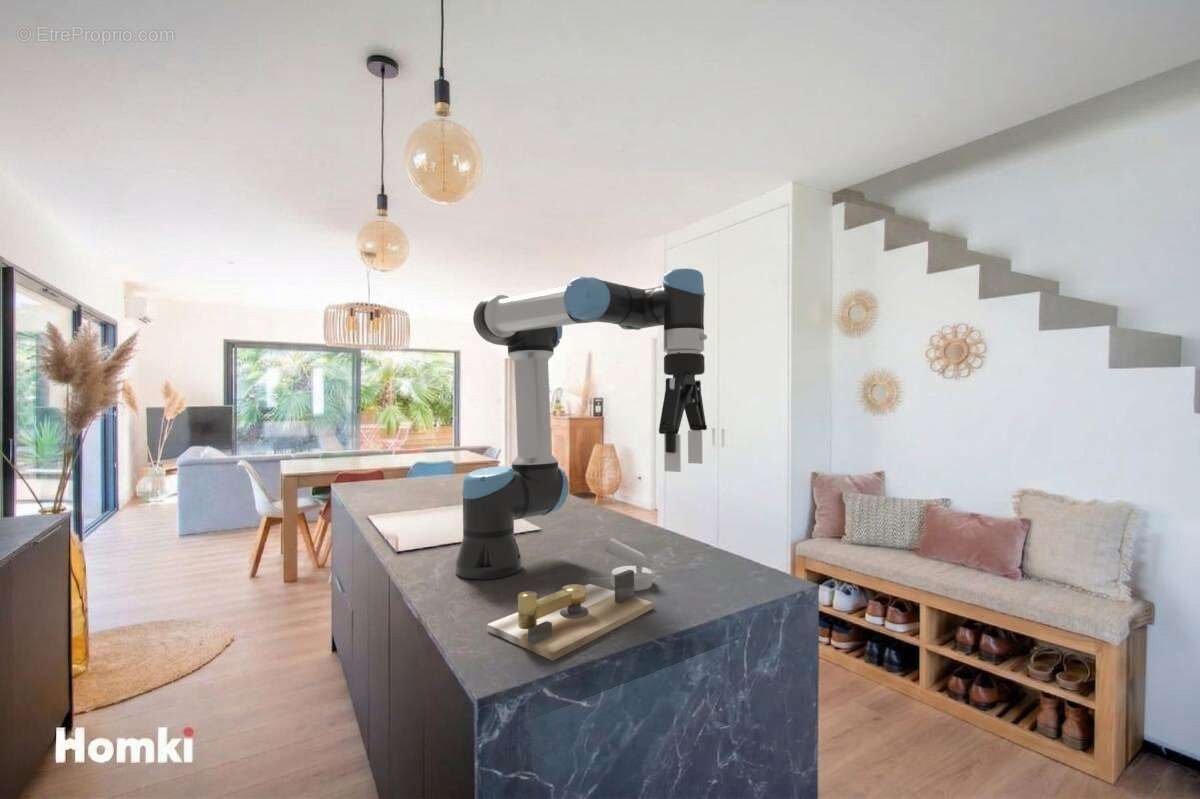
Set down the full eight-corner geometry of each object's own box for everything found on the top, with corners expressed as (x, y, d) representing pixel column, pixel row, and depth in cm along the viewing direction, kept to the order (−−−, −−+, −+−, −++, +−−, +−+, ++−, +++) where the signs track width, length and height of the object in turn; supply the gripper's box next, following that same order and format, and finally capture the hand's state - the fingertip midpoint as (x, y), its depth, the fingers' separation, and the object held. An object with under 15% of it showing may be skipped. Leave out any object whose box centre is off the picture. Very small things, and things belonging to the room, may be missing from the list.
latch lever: (573, 598, 97) (573, 571, 97) (591, 604, 94) (591, 576, 94) (511, 624, 86) (511, 593, 86) (529, 632, 83) (529, 600, 83)
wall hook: (608, 533, 118) (653, 535, 116) (609, 575, 118) (653, 578, 116) (601, 543, 109) (649, 545, 107) (601, 589, 109) (649, 592, 107)
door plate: (487, 631, 89) (486, 594, 89) (589, 589, 109) (589, 559, 109) (553, 660, 79) (552, 619, 79) (653, 608, 98) (652, 575, 98)
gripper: (682, 346, 85) (683, 476, 85) (720, 357, 108) (721, 461, 108) (639, 348, 89) (640, 474, 89) (685, 359, 111) (685, 459, 111)
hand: (684, 467), depth 98 cm, fingers open, 13 cm apart
